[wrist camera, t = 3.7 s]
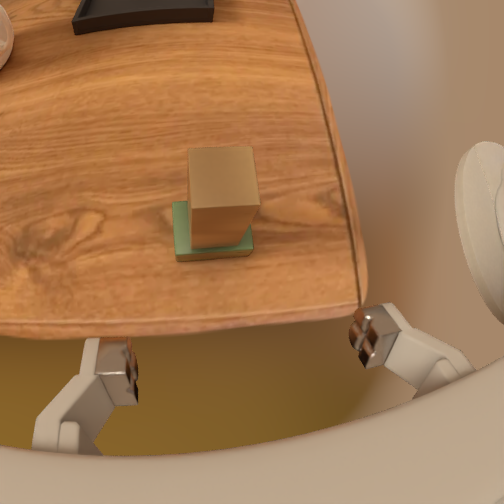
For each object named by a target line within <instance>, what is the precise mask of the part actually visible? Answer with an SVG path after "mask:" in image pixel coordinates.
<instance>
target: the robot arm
mask: <svg viewBox="0 0 504 504" xmlns="http://www.w3.org/2000/svg"><path fill="white" fill-rule="evenodd" d="M496 217H497V223H498V228H499V233H500V236H501V240H502V243H503V246H504V168H502V170H501V184H500V187H499V189H498V191H497V195H496ZM353 317H354V319H355V321H354V322H353V323H352V324H351V326H350V329H349V339H350V343H351V345H352V347H353V348H354V349H356V350H357V351H359V359H360V360H361V362H362V364H363V365H364V367H365V369H369V368H373V367H377V366H380V365H384V366H385V367H387V368H388V369H389V370H391V371H392V372H393V373H395V374H396V375H398V376H399V377H401V378H402V379H403V380H405V381H406V382H408V383H409V384H410V385H412V386H413V387H415V388H416V389H418V391H417V393H416V394H415V395H414V397H413V399H412V400H411V401H408V402H406V403H403V404H400V405H398V406H395V407H392V408H389V409H387V410H384V411H381V412H378V413H375V414H372V415H369V416H366V417H363V418H360V419H357V420H353V421H350V422H347V423H343V424H340V425H337V426H333V427H329V428H326V429H322V430H318V431H314V432H310V433H306V434H302V435H298V436H294V437H289V438H284V439H279V440H275V441H270V442H264V443H259V444H253V445H247V446H241V447H234V448H227V449H220V450H212V451H204V452H194V453H183V454H169V455H150V456H149V455H147V456H103V454H102V453H101V452H100V451H99V449H98V448H97V447H96V446H95V444H94V443H93V442H94V440H95V438H96V437H97V435H98V433H99V432H100V430H101V429H102V427H103V426H104V424H105V423H106V421H107V419H108V418H109V416H110V415H111V413H112V411H113V410H114V408H115V407H114V406H128V405H138V388H137V385H136V381H137V380H138V365H137V360H136V356H135V353H134V352H133V351H132V343H131V340H130V337H101V338H87V340H86V341H85V346H84V351H83V356H82V362H81V368H80V374H79V375H75V376H74V377H73V378H72V379H71V380H70V381H69V383H68V384H67V385H66V386H65V387H64V388H63V389H62V390H61V391H60V392H59V394H58V395H57V396H56V397H55V398H54V399H53V400H52V401H51V402H50V403H49V405H48V406H47V407H46V408H45V409H44V410H43V411H42V412H41V413H40V415H39V416H38V417H37V418H36V424H35V430H34V436H33V442H32V449H31V450H29V449H22V448H16V447H10V446H4V445H0V504H504V356H503V357H501V358H499V359H497V360H495V361H494V362H492V363H490V364H488V365H486V366H485V367H482V368H481V369H479V370H477V371H476V369H475V368H474V367H473V365H472V364H471V363H470V362H469V360H468V359H467V358H466V356H465V355H464V354H463V352H461V350H459V349H457V348H455V347H453V346H451V345H449V344H447V343H445V342H443V341H441V340H439V339H437V338H435V337H433V336H431V335H429V334H427V333H425V332H423V331H421V330H419V329H417V328H412V327H411V326H410V324H409V323H408V322H407V321H406V319H405V318H404V317H403V315H402V314H401V313H400V312H399V311H398V309H397V308H396V307H395V305H394V304H393V303H391V302H388V303H384V304H379V305H374V306H369V307H364V308H358V309H357V310H356V311H355V313H354V316H353Z"/></svg>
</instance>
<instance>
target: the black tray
mask: <svg viewBox="0 0 504 504" xmlns="http://www.w3.org/2000/svg"><path fill="white" fill-rule="evenodd" d="M213 12H214V2H213V0H82V1H81V3H80V5H79V7H78V9H77V11H76V13H75V16H74V18H73V20H72V25H73V29H74V33H75V35H78V34H83V33H89V32H94V31H100V30H106V29H113V28H120V27H128V26H137V25H148V24H160V23H179V22H212V19H213Z"/></svg>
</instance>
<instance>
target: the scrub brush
mask: <svg viewBox="0 0 504 504" xmlns="http://www.w3.org/2000/svg"><path fill="white" fill-rule="evenodd" d="M260 205H261V202H260V195H259V188H258V181H257V174H256V167H255V160H254V154H253V147H252V146H237V147H205V148H188V185H187V201H179V202H172V212H173V230H174V246H175V256H176V261H177V262H181V261H193V260H205V259H217V258H230V257H242V256H249V254H250V253H251V252H252V250H253V249H254V246H253V238H252V231H251V221H252V219H253V218H254V216H255V214H256V212H257V210H258V209H259V207H260Z"/></svg>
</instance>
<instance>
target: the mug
mask: <svg viewBox="0 0 504 504" xmlns="http://www.w3.org/2000/svg"><path fill="white" fill-rule="evenodd" d="M13 41H14V31H13V27H12V24H11V21H10V19H9V17H8V15H7V13H6V11H5V10H4V8H3V7H2V6H1V5H0V69H1V68H2V67H3V65H4V64H5V63H6V61H7V59H8V58H9V56H10V54H11V51H12V48H13V45H12V44H13Z"/></svg>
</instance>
